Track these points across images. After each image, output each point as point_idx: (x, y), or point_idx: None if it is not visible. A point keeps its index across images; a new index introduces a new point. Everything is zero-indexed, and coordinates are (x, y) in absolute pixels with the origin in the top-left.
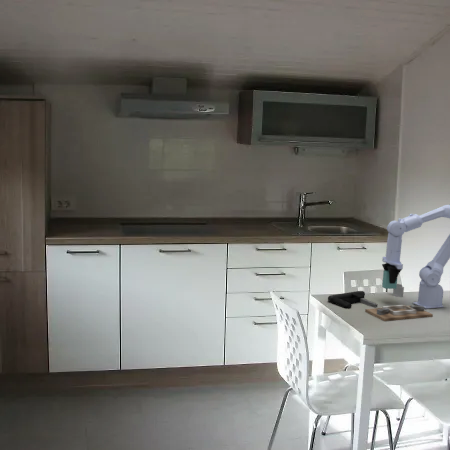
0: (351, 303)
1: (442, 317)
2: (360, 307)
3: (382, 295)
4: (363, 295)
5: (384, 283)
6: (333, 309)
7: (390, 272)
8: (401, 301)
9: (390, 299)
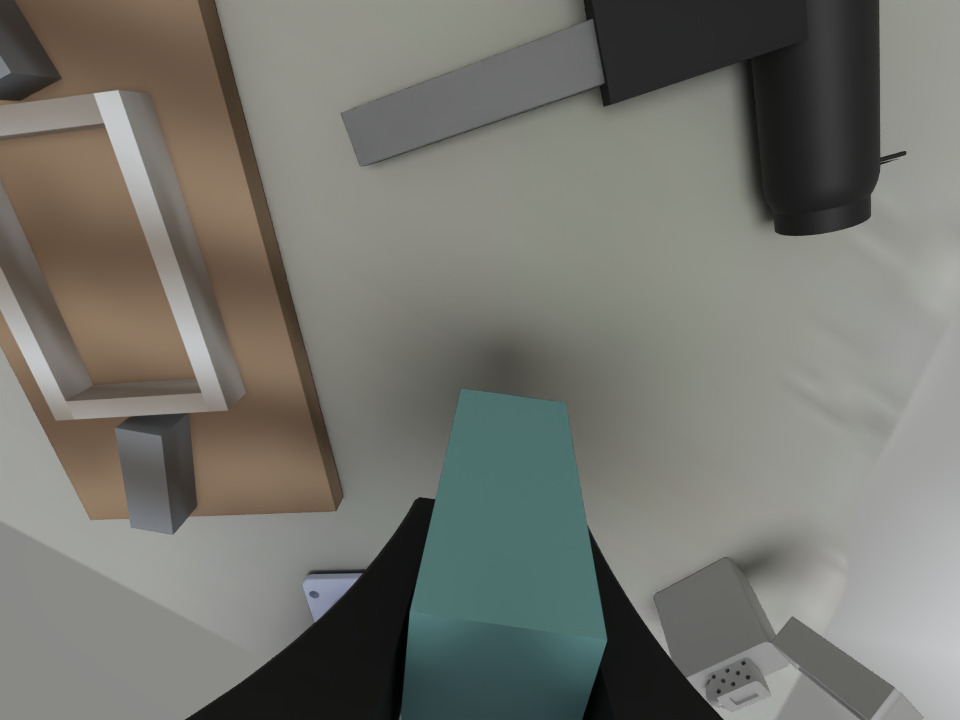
0: None
1: (102, 559)
2: None
3: (764, 472)
4: (767, 203)
5: (494, 432)
6: None
7: (285, 654)
8: None
9: (616, 468)
